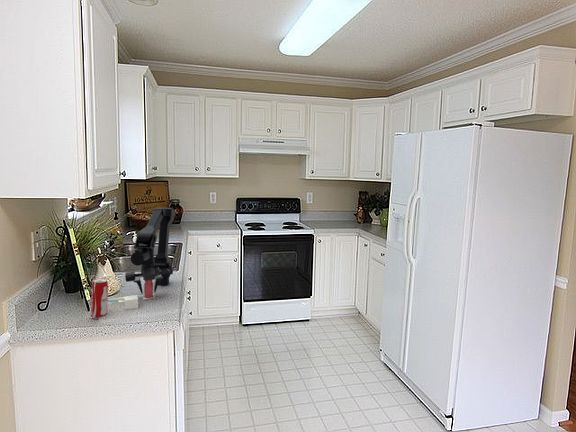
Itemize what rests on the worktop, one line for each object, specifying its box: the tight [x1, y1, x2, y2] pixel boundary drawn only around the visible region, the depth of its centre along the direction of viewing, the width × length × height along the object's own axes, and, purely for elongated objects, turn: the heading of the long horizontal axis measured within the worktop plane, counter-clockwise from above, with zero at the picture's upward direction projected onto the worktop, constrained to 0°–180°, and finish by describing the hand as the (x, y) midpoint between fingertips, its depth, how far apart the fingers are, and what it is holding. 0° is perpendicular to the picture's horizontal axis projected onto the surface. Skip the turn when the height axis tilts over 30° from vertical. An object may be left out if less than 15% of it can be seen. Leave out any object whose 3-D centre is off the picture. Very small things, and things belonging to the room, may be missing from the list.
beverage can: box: [90, 278, 109, 320], centre depth 152 cm, size 6×6×15 cm
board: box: [107, 293, 156, 305], centre depth 170 cm, size 6×20×1 cm, turn 115°
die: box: [123, 294, 139, 310], centre depth 161 cm, size 5×5×5 cm
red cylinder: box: [143, 280, 154, 298], centre depth 173 cm, size 4×4×8 cm
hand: (148, 293), depth 173 cm, fingers open, 5 cm apart
